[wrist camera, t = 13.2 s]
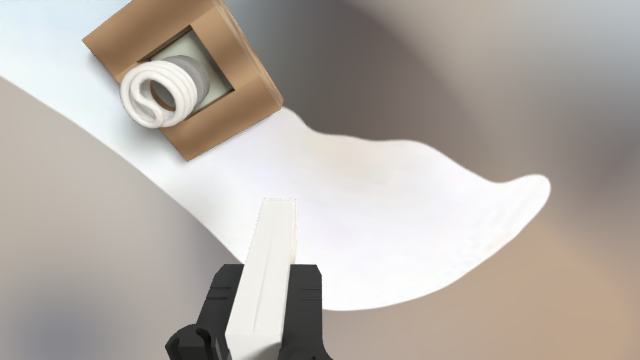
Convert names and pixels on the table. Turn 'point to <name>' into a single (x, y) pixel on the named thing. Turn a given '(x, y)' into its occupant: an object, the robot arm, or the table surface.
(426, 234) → the table surface
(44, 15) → the table surface
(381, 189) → the table surface
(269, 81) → the socket board
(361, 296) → the table surface
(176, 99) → the light bulb
